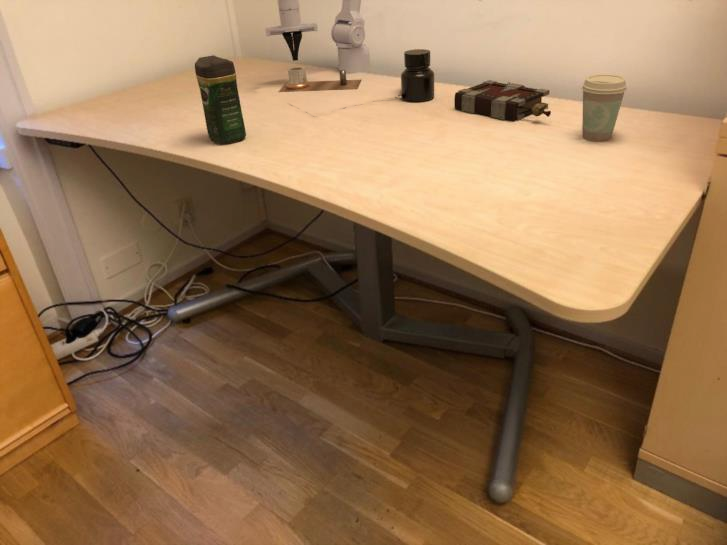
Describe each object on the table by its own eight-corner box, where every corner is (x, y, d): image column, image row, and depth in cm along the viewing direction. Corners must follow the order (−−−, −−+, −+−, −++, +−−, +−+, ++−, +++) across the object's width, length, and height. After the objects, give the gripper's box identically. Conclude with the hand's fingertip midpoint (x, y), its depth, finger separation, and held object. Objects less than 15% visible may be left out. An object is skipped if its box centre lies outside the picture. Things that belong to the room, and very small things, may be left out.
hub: (303, 82, 175) (301, 65, 173) (313, 86, 170) (311, 69, 168) (282, 86, 173) (280, 69, 170) (291, 90, 168) (289, 73, 165)
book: (488, 97, 155) (489, 78, 153) (574, 114, 139) (577, 92, 137) (452, 111, 147) (453, 90, 145) (539, 130, 131) (541, 107, 128)
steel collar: (302, 80, 174) (300, 66, 172) (309, 83, 170) (308, 68, 168) (286, 83, 172) (285, 69, 170) (293, 86, 168) (292, 71, 166)
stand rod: (344, 83, 171) (343, 69, 169) (347, 84, 169) (346, 70, 167) (339, 84, 170) (338, 70, 168) (342, 85, 169) (341, 71, 167)
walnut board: (362, 84, 175) (361, 79, 174) (357, 94, 165) (357, 89, 165) (287, 87, 178) (286, 82, 177) (278, 97, 168) (277, 92, 167)
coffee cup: (566, 135, 126) (573, 78, 120) (598, 127, 129) (606, 71, 122) (595, 146, 119) (603, 86, 113) (627, 138, 122) (638, 79, 116)
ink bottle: (437, 93, 161) (437, 47, 155) (434, 102, 154) (434, 54, 147) (401, 94, 163) (400, 48, 157) (398, 103, 155) (396, 56, 149)
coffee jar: (251, 139, 137) (238, 56, 128) (220, 147, 134) (203, 63, 124) (234, 130, 144) (220, 51, 135) (204, 137, 141) (187, 57, 131)
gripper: (313, 4, 167) (318, 54, 174) (262, 9, 165) (269, 59, 172) (316, 7, 161) (321, 59, 168) (263, 13, 159) (271, 64, 166)
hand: (295, 59), depth 170 cm, fingers closed
